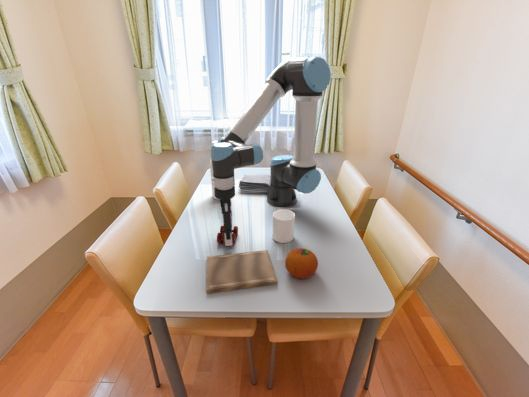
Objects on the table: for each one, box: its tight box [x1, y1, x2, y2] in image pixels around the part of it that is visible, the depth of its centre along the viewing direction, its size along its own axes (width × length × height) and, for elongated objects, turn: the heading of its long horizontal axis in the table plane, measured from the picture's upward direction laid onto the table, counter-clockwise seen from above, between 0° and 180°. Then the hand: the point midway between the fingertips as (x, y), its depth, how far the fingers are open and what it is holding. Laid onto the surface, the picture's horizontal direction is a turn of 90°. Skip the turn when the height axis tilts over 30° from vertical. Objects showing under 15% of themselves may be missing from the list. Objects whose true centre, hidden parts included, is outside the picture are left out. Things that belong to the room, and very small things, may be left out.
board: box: [205, 249, 278, 294], centre depth 89 cm, size 22×16×2 cm
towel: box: [238, 173, 271, 194], centre depth 149 cm, size 15×18×8 cm
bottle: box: [209, 140, 220, 201], centre depth 134 cm, size 8×8×30 cm
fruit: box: [284, 247, 319, 280], centre depth 87 cm, size 11×10×8 cm
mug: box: [272, 208, 296, 244], centre depth 107 cm, size 9×12×11 cm
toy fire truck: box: [216, 210, 239, 245], centre depth 104 cm, size 7×12×10 cm, turn 176°
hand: (227, 235), depth 106 cm, fingers open, 13 cm apart
